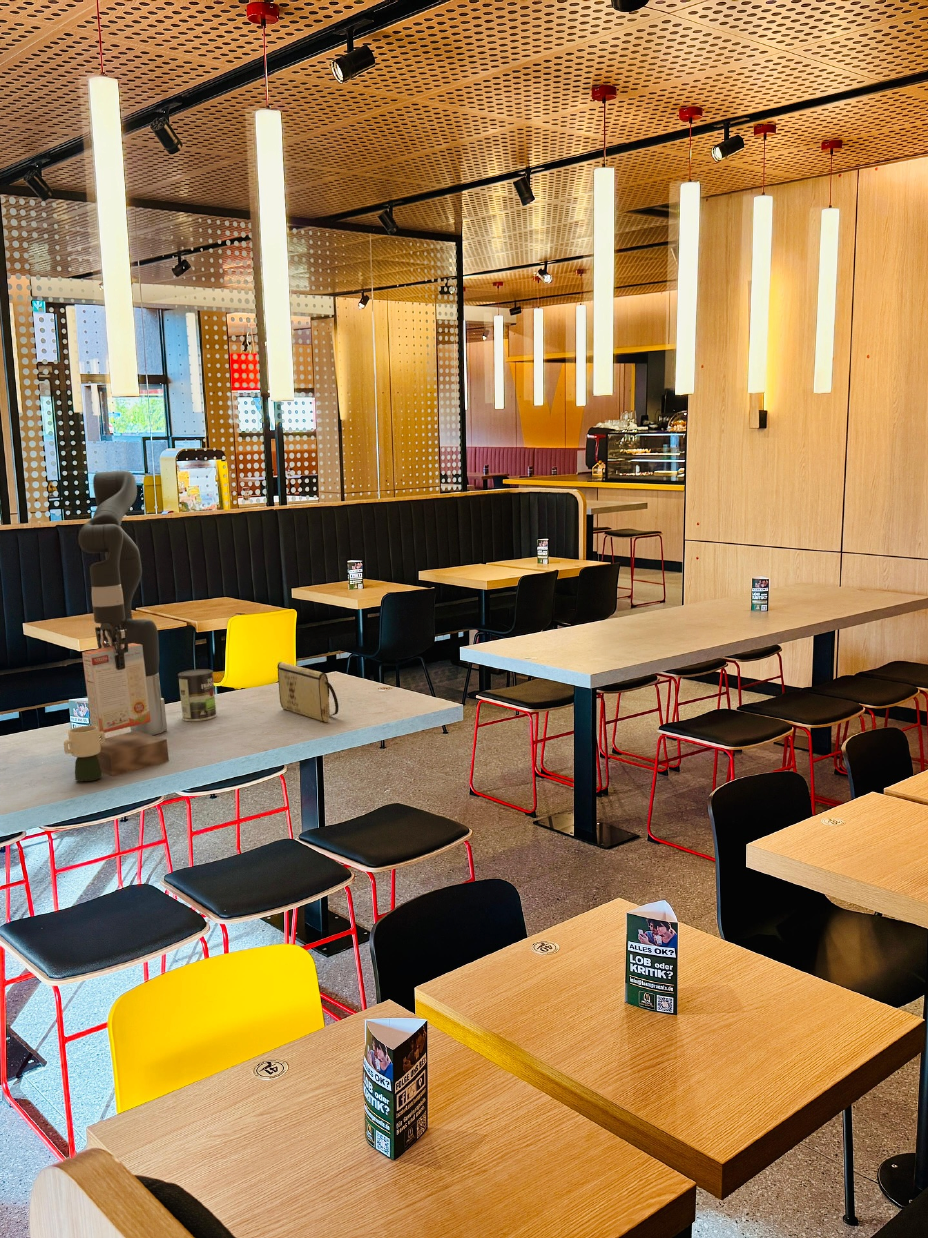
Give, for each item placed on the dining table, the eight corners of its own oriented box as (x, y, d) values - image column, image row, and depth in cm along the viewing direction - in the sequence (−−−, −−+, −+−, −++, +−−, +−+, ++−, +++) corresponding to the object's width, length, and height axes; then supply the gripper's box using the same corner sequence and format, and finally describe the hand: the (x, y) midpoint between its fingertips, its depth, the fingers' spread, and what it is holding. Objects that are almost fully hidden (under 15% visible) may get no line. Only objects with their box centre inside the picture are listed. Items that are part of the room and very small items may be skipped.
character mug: (100, 772, 262) (95, 722, 260) (116, 776, 258) (111, 725, 256) (60, 783, 254) (54, 732, 252) (76, 788, 249) (70, 736, 247)
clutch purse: (345, 720, 303) (342, 670, 301) (325, 725, 299) (321, 674, 296) (296, 704, 326) (293, 658, 324) (276, 709, 322) (273, 661, 320)
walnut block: (136, 752, 281) (134, 731, 280) (169, 761, 270) (166, 739, 269) (81, 767, 269) (78, 745, 268) (112, 777, 258) (109, 754, 257)
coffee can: (223, 713, 319) (219, 669, 317) (204, 722, 309) (200, 676, 307) (194, 713, 322) (190, 668, 320) (175, 721, 313) (170, 675, 311)
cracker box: (140, 719, 275) (132, 642, 272) (151, 722, 271) (143, 644, 267) (89, 730, 265) (81, 650, 262) (100, 734, 261) (91, 653, 258)
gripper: (134, 603, 260) (141, 668, 263) (109, 599, 271) (116, 662, 273) (106, 607, 255) (113, 673, 258) (81, 603, 266) (88, 667, 268)
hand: (114, 667), depth 266 cm, fingers closed on cracker box, 6 cm apart
